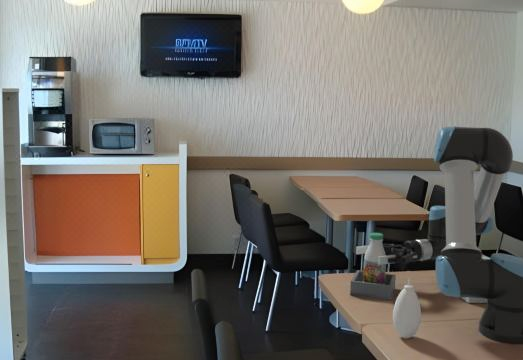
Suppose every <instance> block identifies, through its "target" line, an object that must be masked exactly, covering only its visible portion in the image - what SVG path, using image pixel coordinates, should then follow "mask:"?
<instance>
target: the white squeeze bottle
mask: <svg viewBox="0 0 523 360" xmlns="http://www.w3.org/2000/svg"><path fill="white" fill-rule="evenodd" d="M407 282H408V283H407V284H405V285H404V286H403V289H402V290H401V291H400V292H399V293H398V296H397V297H396V299H395V303H394V306H393V309H392V310H393V311H392V324H393V327H394V330H395V332H396V333H397V334H398V336H400V337H401V338H402V339H410V338H412V337H413V336H415V335H416V334H417V333H418V331H419V328H420V325H421V320H422V319H421V318H422V310H421V304H420V301H419V300H420V299H419V298H418V295H417V293H416V291H415V290H414V286H413V285H412V284H411V277H410V276H409V277H408V281H407Z"/></svg>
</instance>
